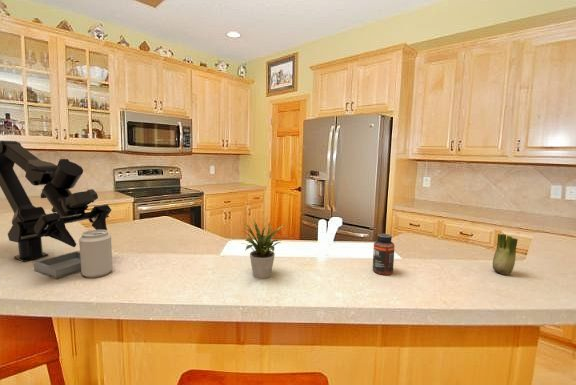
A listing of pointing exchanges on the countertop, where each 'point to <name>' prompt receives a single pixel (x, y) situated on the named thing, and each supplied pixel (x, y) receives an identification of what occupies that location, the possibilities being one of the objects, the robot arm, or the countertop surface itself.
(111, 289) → the countertop surface
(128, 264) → the countertop surface
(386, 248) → the supplement bottle
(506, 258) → the fennel bulb
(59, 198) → the robot arm
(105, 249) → the can
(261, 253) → the house plant
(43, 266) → the tray
